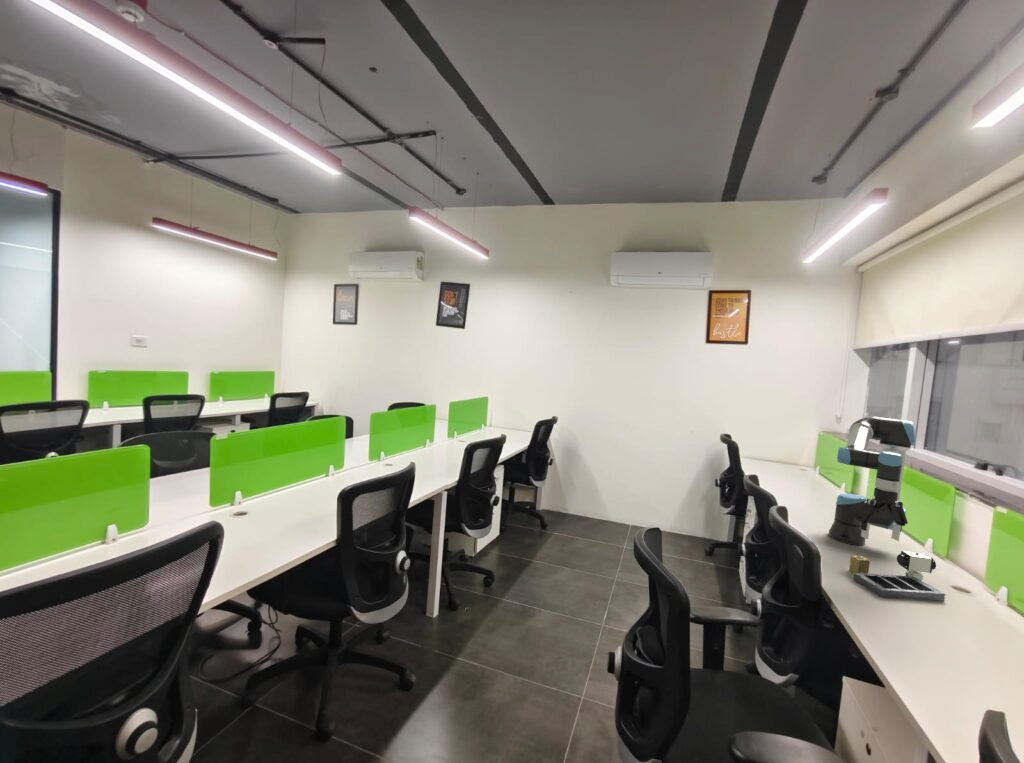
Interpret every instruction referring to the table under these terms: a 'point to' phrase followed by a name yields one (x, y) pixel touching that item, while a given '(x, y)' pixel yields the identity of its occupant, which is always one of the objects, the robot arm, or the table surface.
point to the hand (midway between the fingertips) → (879, 538)
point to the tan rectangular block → (859, 564)
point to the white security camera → (916, 563)
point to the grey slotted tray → (898, 587)
